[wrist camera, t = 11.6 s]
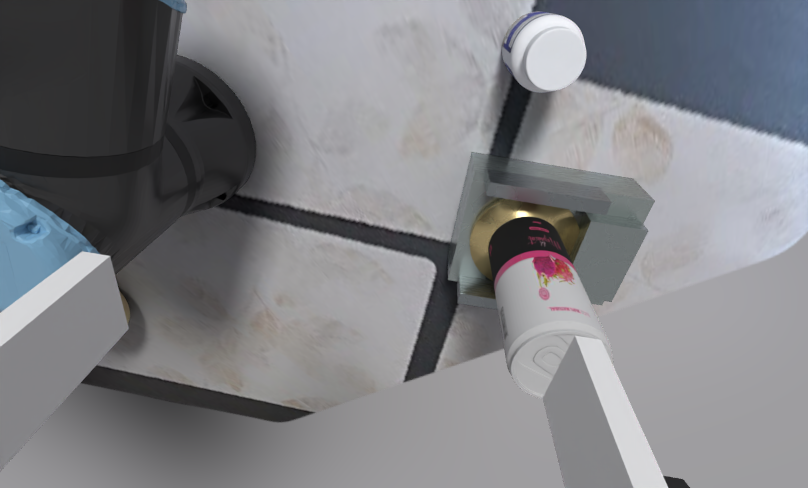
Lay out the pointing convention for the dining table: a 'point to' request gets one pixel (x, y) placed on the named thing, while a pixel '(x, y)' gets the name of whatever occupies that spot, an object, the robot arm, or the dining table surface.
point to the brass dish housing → (555, 203)
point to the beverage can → (538, 301)
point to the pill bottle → (544, 51)
